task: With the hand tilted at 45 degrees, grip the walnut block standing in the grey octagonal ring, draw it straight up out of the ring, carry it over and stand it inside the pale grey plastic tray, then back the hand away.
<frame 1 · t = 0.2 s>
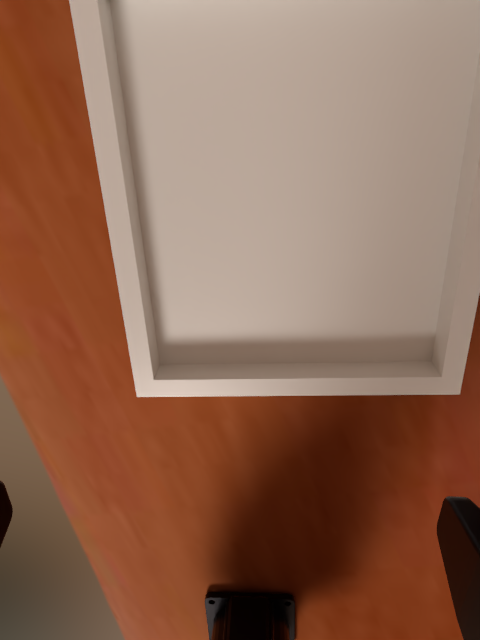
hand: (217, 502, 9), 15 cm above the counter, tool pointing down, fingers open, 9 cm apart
tray: (292, 202, 21), on the counter
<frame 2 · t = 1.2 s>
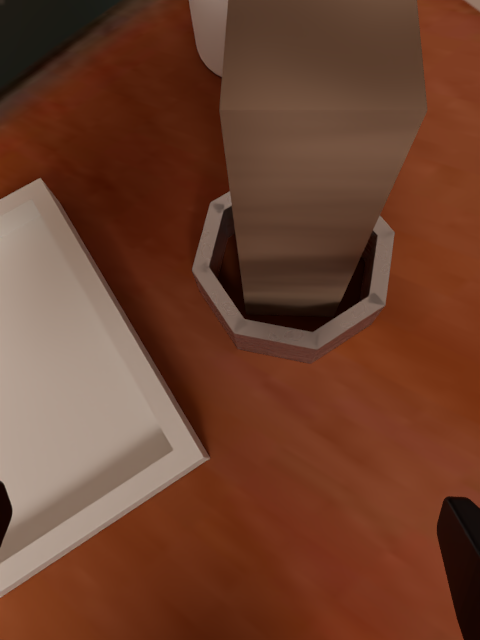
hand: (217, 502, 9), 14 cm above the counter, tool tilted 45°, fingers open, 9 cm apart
bottle: (254, 42, 31), on the counter
grey octagonal ring: (290, 275, 25), on the counter
walnut block: (299, 201, 18), in the grey octagonal ring
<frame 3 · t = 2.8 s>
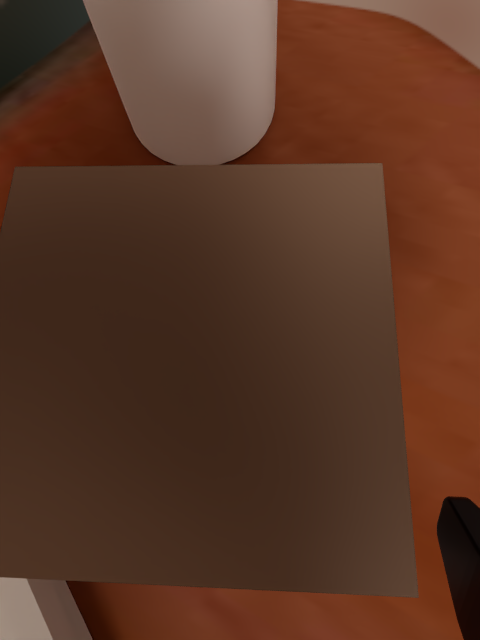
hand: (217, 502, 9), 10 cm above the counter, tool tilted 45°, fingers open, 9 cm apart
bottle: (203, 111, 25), on the counter
walnut block: (230, 417, 12), in the grey octagonal ring
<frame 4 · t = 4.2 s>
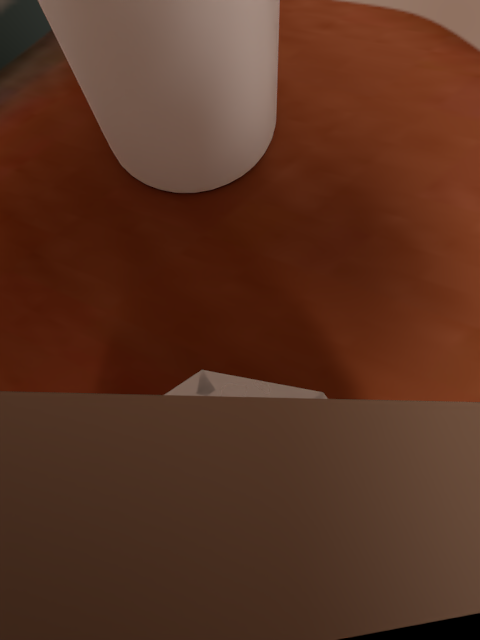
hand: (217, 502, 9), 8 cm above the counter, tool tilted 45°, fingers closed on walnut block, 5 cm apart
bottle: (192, 126, 22), on the counter
grey octagonal ring: (238, 527, 16), on the counter
walnut block: (214, 576, 9), in the grey octagonal ring, touching gripper
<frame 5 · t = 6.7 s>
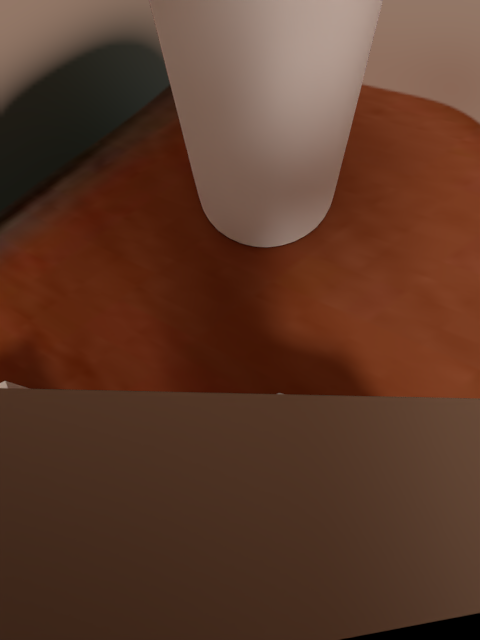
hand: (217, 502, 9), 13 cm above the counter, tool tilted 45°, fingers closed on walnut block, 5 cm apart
bottle: (265, 190, 27), on the counter
walnut block: (216, 575, 9), point 13 cm above the counter, touching gripper
when the fingers open (10 cm above the counter, at t = 9.0 s): walnut block drops 1 cm, resting on tray.
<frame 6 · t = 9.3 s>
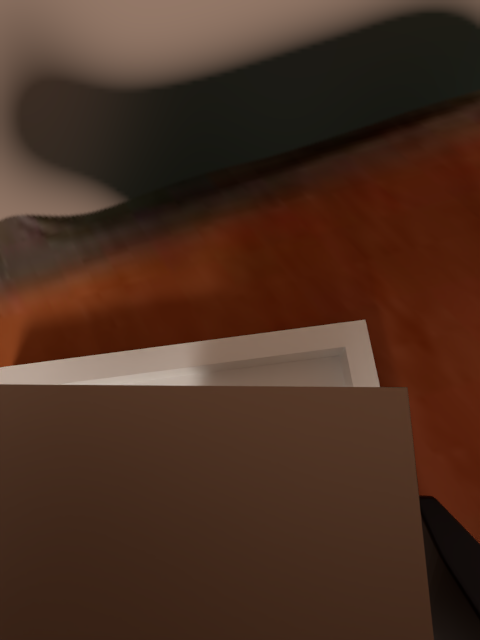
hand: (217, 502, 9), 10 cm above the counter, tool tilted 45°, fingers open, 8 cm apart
tray: (197, 580, 18), on the counter
walnut block: (216, 555, 10), in the tray, point 9 cm above the counter
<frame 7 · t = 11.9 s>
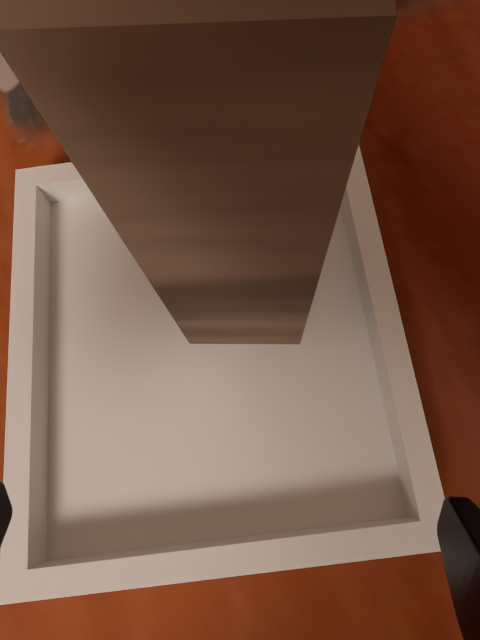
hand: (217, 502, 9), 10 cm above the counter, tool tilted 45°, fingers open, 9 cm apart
tray: (209, 344, 21), on the counter
walnut block: (234, 200, 13), in the tray, point 8 cm above the counter
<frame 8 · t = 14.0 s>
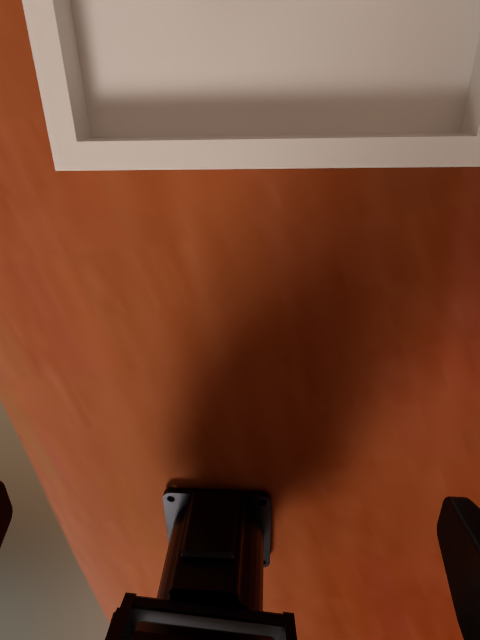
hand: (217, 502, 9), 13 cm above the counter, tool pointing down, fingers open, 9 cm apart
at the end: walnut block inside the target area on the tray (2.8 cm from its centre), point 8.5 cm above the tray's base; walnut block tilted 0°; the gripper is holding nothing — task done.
